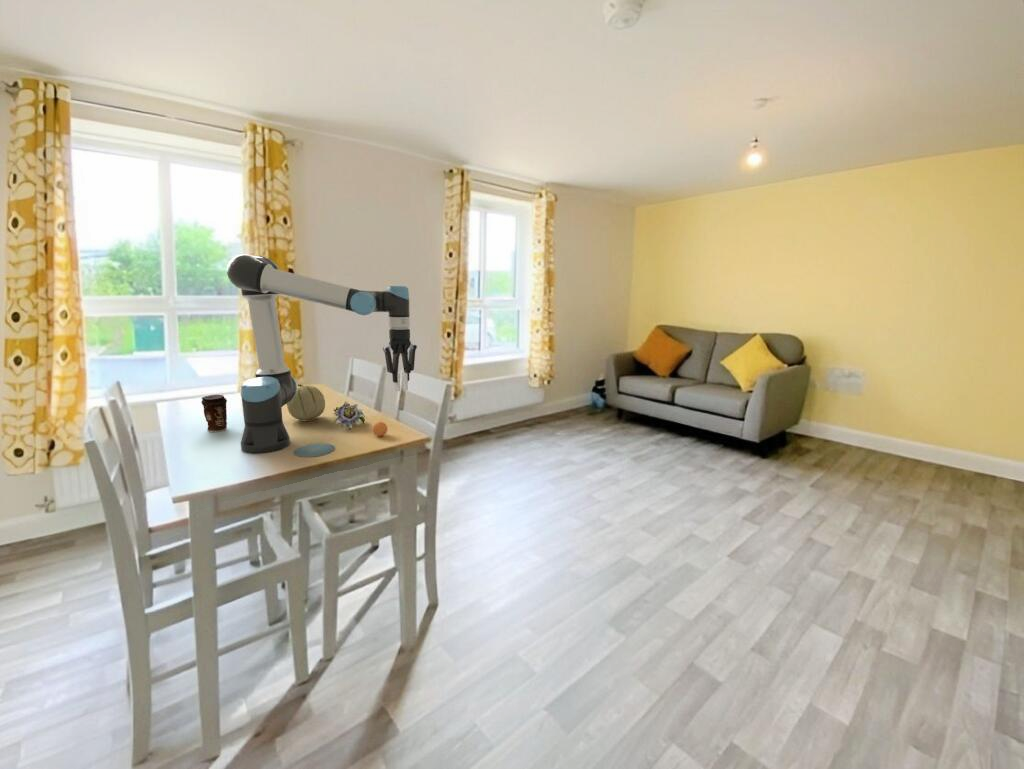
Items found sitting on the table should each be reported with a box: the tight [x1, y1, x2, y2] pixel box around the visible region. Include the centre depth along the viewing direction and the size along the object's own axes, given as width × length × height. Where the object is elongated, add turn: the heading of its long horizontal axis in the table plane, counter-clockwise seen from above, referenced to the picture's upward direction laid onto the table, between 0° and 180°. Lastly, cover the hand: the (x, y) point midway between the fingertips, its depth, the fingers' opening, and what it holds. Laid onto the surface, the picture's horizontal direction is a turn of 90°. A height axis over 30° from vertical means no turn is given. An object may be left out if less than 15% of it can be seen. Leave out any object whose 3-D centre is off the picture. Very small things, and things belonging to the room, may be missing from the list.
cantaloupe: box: [286, 383, 326, 422], centre depth 193 cm, size 15×15×15 cm
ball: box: [371, 421, 388, 437], centre depth 176 cm, size 6×6×6 cm
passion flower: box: [333, 401, 366, 429], centre depth 188 cm, size 11×11×12 cm
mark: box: [293, 442, 336, 458], centre depth 161 cm, size 13×13×1 cm
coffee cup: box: [200, 394, 228, 433], centre depth 179 cm, size 9×8×13 cm
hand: (401, 389), depth 179 cm, fingers open, 3 cm apart
